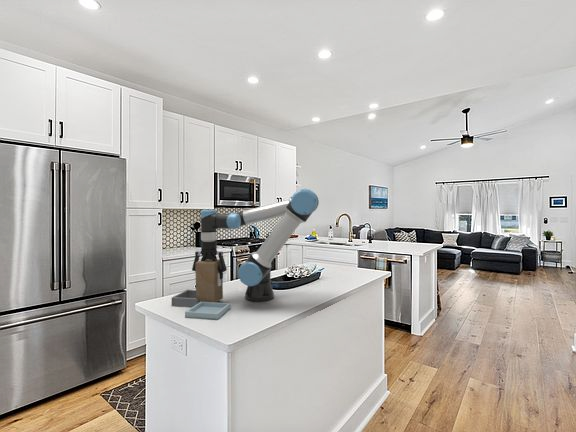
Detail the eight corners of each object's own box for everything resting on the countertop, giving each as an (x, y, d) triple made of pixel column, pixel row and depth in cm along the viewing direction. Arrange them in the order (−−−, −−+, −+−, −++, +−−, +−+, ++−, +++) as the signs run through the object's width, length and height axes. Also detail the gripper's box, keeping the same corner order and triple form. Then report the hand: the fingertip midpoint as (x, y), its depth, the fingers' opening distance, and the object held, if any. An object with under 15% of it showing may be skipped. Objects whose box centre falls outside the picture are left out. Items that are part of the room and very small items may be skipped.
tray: (230, 308, 146) (230, 303, 146) (217, 319, 131) (217, 314, 131) (200, 306, 149) (200, 301, 149) (185, 317, 134) (184, 311, 134)
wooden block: (214, 304, 148) (214, 262, 148) (195, 303, 150) (194, 262, 150) (223, 298, 158) (222, 259, 158) (205, 297, 160) (204, 258, 160)
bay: (210, 298, 162) (210, 290, 162) (197, 307, 148) (197, 299, 147) (187, 297, 165) (187, 289, 165) (171, 305, 150) (171, 297, 150)
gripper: (233, 240, 155) (233, 284, 156) (191, 239, 159) (192, 282, 160) (227, 241, 148) (228, 288, 148) (183, 241, 152) (184, 286, 153)
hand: (209, 285), depth 154 cm, fingers closed on wooden block, 10 cm apart
